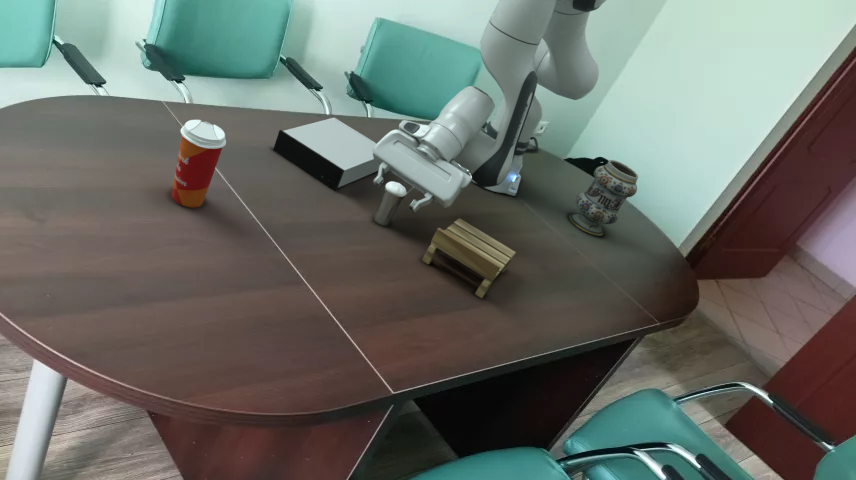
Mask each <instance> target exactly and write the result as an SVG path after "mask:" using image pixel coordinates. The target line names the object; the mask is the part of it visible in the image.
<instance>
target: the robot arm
mask: <svg viewBox="0 0 856 480" xmlns="http://www.w3.org/2000/svg"><path fill="white" fill-rule="evenodd" d="M606 1H607V0H499V1H498V2H497V4H496V6H495V7H494V10H493V12H492V14H491V16H490V18H489V19H488V22H487V23H486V26H485V28H484V30H483V33H482V36H481V39H480V42H479V53H480V58H481V61H482V63H483V65H484V67H485V69H486V71H487V72H488V73H489V74H490V76H491V77H492V79H493V80H494V81H495V83H496V84H497V85H498V87H499V88H500V90H501V92H502V96H501V97H500V100H499V104H498V106H497V108H496V110H495V107H496V105H495V102H494V100H493V99H492V97H491V96H490V95H489V94H488V93H487V92H485V91H483V90H482V89H480V88H479V87H477V86H473V85H468V86H465V87H464V88H462V89H461V90H460V91H459V92H458V93H456V94H455V95H454V96H453V97H452V98H451V99H450V100H449V101H448V102H447V103H446V104H445V106H444V107H443V108H442V109H441V111H440V112H439V115H438V116H437V117H436V119H434V120H432V121H431V122H430V123H428V124H422V123H419V122H414V121H410V120H407V119H403V120H401V122H399V125H398V129H393V130H391V131H389V132H387V133H386V134H385V135H384V136H383V137H381V139H380V140H379V141H378V142H377V144H376V145H375V146H374V148H373V158H374V160H375V161H376V162H377V163H379V164H380V166H379V171H377V175H376V177H375V178H374V179H373V180H372V184H373V185H374V186H376V187H377V188H378V189H380V188H381V187H382V186H383V185H384V184H385V178H384V177H383V176H384V174H387V173H388V172H390V173H392V174H393V175H395V176H396V177H398V178H399V179H400V180H402V181H404V182H405V183H406V184H408V185H409V186H411V187H412V188H413V187H414V188H413V189H415V190H417V191H418V192H420V193H421V194H423V195H424V198H422V199H419V200H417V199H415V198H414V199H413V200H412V201H411V203H410V204H409V205H408V208H409V210H410V211H412V212H414V213H417V212H418V211H419V210H420V208H423V207H425V206H428V205H430V204H432V202H434V203H436V204H438V205H439V206H440V207H442V208H449V207H451V206H453V204H454V202H455V201H456V200H457V198H458V196H459V195H460V194H461V191H462V190H464V189H466V188H467V187H468V186H469V185H470V183H471V182H473V183H474V184H476V185H477V186H479V187H480V188H484V189H486V190H489V191H491V192H496V193H501V194H507V195H509V196H513V197H515V196H516V195H517V193H518V189H519V185H520V183H521V179H522V176H521V175H520V171H521V169H522V167H523V166H524V165H523V162H524V155H525V153H526V152H535V151H537V150H538V149H539V142H538V139H537V138H536V137H535V136H533V135H534V133H535V131H536V129H537V128H538V126H539V124H540V122H541V120H542V118H543V108H542V104H541V103H540V101H539V99H538V98H537V96H536V94H535V93H536V91H537V87H538V85H539V86H541V87H542V88H545V89H547V90H548V91H550V92H551V93H553V94H555V95H557V96H559V97H562V98H566V99H570V100H573V101H577V100H580V99H583V98H584V97H586V96H588V95H589V94H590V93H591V92H592V91H593V90H594V88H595V86H596V85H597V82H598V80H599V76H600V75H599V72H600V71H599V65H598V63H597V61H596V60H595V59H594V57H593V55H592V54H591V52H590V49H589V45H588V43H587V37H586V28H587V24H588V20H589V17H590V14H591V12H593V11H596V10H598V9H599V8H600V7H601V6H602V5H603V4H604V3H605V2H606ZM494 110H495V112H494ZM493 112H494V114H493V117H492V118H491V120H490V121H489V122H488V123H487V121H488V119H489V118H490V117H491V115H492V113H493ZM486 123H487V125H486V126H485V124H486ZM484 126H485V127H484ZM483 127H484V130H483V131H482V128H483ZM530 140H533V142H534V145H535V146H534V147H533V148H529V146H530V143H531V141H530Z"/></svg>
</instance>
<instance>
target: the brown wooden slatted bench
mask: <svg viewBox="0 0 856 480" xmlns="http://www.w3.org/2000/svg"><path fill="white" fill-rule="evenodd" d="M430 242H431V243H430V245H429V246H428V248H427V250H426V251H425V253H424V256H423V257H422V259H421V261H423V263H426V264H427V265H430V264H431V263H432V262H433V260H434V258H435V256H436V254H437V253H438V250H440V251H442V252H443V253H445V254H447V255H448V256H449V257H451V258H453V259H454V260H456V261H458V262H459V263H461V264H462V265H464V266H466V267H467V268H469V269H470V270H472V271H474V272H475V273H477V274H479V276H481V277H483V278H484V279H483V280H482V281H481V283H480V284H479V286H478V287H477V290H476V291H475V293H474V295H475V296H477V297H479V298H480V299H483V298H484V297H485V295H486V294H487V292H488V290H489V289H490V287H491V285H492V283H493V281H495V279H496V278H497V277H498V275H499V274H500V273H504V272H506V269H507V268H508V267H509V265H510V262H512V260H513V257H514V256H515V255H516V251H514V250H513V249H511V248H509V247H508V246H506V245H505V244H503V243H501V242H500V241H498V240H496V239H494V238H493V237H491V236H489V235H488V234H487V233H485V232H483V231H481V230H480V229H478V228H477V227H475V226H473V225H471V224H470V223H468V222H466V221H465V220H463V219H462V218H460V217H459V218H457V219H456V220H455V221H454V222H453V223H451V224H450V225H449V226H447V228H446V229H442V228H441V227H437V229H436V231H435V232H434V235H433V237H432V239H431V240H430Z"/></svg>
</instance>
